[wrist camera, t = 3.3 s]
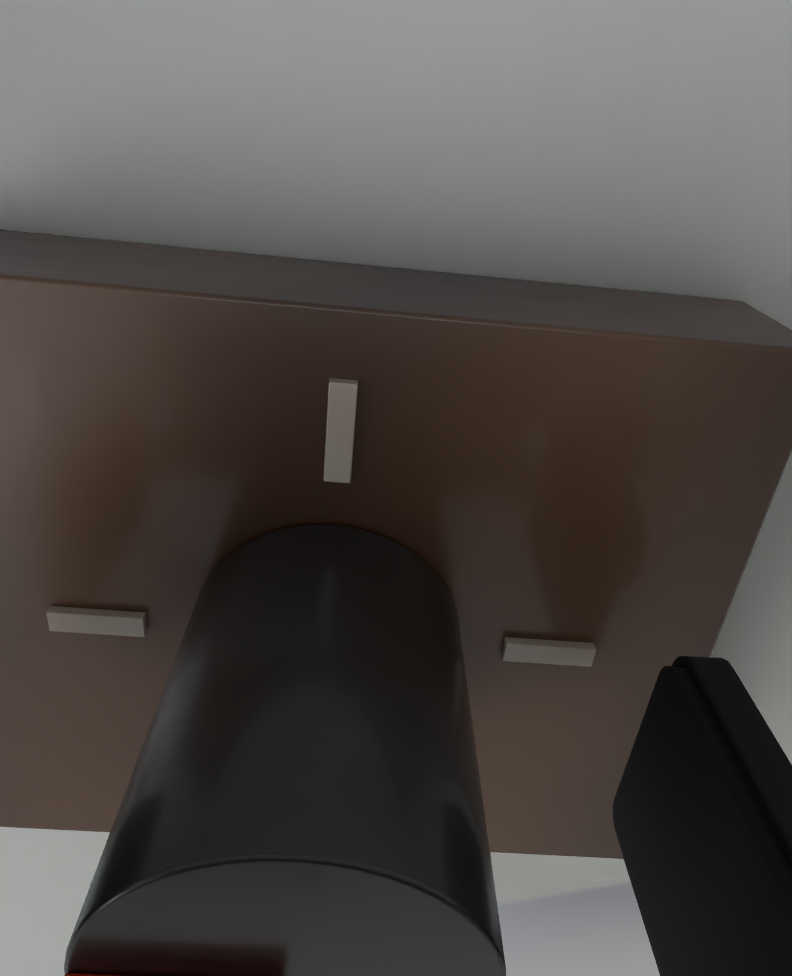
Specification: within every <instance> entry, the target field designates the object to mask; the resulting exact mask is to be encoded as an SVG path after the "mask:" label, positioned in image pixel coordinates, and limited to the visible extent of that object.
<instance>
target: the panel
mask: <svg viewBox="0 0 792 976" xmlns="http://www.w3.org/2000/svg"><path fill="white" fill-rule="evenodd" d="M791 450H792V330H790V329H788V328H787V327H785V326H783V325H782V324H780V323H778V322H777V321H775V320H773V319H772V318H770V317H768V316H767V315H765V314H763V313H761V312H760V311H758V310H756V309H755V308H753V307H751V306H750V305H748V304H746V303H745V302H742V301H731V300H721V299H711V298H700V297H690V296H679V295H669V294H659V293H648V292H638V291H628V290H617V289H607V288H596V287H586V286H576V285H565V284H555V283H544V282H534V281H524V280H513V279H503V278H492V277H482V276H472V275H461V274H451V273H441V272H430V271H420V270H409V269H399V268H389V267H378V266H368V265H357V264H347V263H337V262H326V261H316V260H305V259H295V258H285V257H274V256H264V255H254V254H243V253H233V252H222V251H212V250H202V249H191V248H181V247H170V246H160V245H150V244H139V243H129V242H119V241H108V240H98V239H87V238H77V237H67V236H56V235H46V234H35V233H25V232H15V231H4V230H0V827H17V828H37V829H56V830H76V831H95V832H111V829H112V826H113V824H114V821H115V818H116V816H117V813H118V810H119V808H120V805H121V802H122V800H123V797H124V794H125V791H126V789H127V786H128V783H129V781H130V778H131V775H132V773H133V770H134V767H135V765H136V762H137V759H138V757H139V754H140V751H141V749H142V746H143V743H144V740H145V738H146V735H147V732H148V730H149V727H150V724H151V722H152V719H153V716H154V714H155V711H156V708H157V706H158V703H159V700H160V697H161V695H162V692H163V689H164V687H165V684H166V681H167V679H168V676H169V673H170V671H171V668H172V665H173V663H174V660H175V657H176V655H177V652H178V649H179V646H180V644H181V641H182V638H183V636H184V633H185V630H186V628H187V625H188V622H189V620H190V617H191V614H192V612H193V609H194V606H195V604H196V601H197V598H198V596H199V593H200V591H201V588H202V587H203V585H204V583H205V582H206V580H207V578H208V577H209V575H210V574H211V573H212V572H213V570H214V569H215V568H216V567H217V566H218V565H219V563H221V562H222V561H223V560H224V559H225V558H226V557H227V556H229V555H230V554H231V553H232V552H234V551H235V550H237V549H238V548H240V547H241V546H243V545H244V544H246V543H248V542H250V541H252V540H254V539H256V538H258V537H260V536H263V535H266V534H269V533H272V532H275V531H278V530H281V529H286V528H291V527H296V526H305V525H339V526H346V527H353V528H357V529H361V530H365V531H369V532H373V533H375V534H378V535H381V536H383V537H386V538H389V539H390V540H392V541H394V542H396V543H398V544H400V545H402V546H404V547H405V548H407V549H408V550H410V551H411V552H413V553H414V554H416V555H417V556H418V557H420V558H421V559H422V560H423V561H424V562H425V563H426V564H427V565H429V566H430V567H431V568H432V569H433V571H434V572H435V573H436V574H437V575H438V577H439V578H440V579H441V580H442V582H443V583H444V585H445V587H446V588H447V590H448V591H449V593H450V595H451V598H452V600H453V602H454V605H455V608H456V612H457V616H458V620H459V628H460V635H461V642H462V650H463V657H464V665H465V672H466V679H467V687H468V694H469V701H470V709H471V716H472V724H473V731H474V738H475V746H476V753H477V760H478V768H479V775H480V783H481V790H482V797H483V805H484V812H485V819H486V827H487V834H488V842H489V849H490V852H503V853H522V854H542V855H561V856H580V857H600V858H619V859H624V858H623V854H622V851H621V848H620V845H619V842H618V838H617V835H616V832H615V828H614V824H613V802H614V798H615V795H616V792H617V790H618V787H619V784H620V781H621V778H622V776H623V773H624V770H625V767H626V764H627V762H628V759H629V756H630V753H631V750H632V748H633V745H634V742H635V739H636V736H637V734H638V731H639V728H640V725H641V722H642V720H643V717H644V714H645V711H646V708H647V706H648V703H649V700H650V697H651V694H652V692H653V689H654V686H655V683H656V681H657V678H658V675H659V673H660V671H661V669H662V668H663V667H664V666H672V664H673V662H674V660H675V659H676V658H677V657H679V656H694V657H710V655H711V652H712V650H713V647H714V645H715V642H716V640H717V637H718V635H719V632H720V630H721V627H722V625H723V622H724V620H725V617H726V614H727V612H728V609H729V607H730V604H731V602H732V599H733V597H734V594H735V592H736V589H737V587H738V584H739V582H740V579H741V577H742V574H743V571H744V569H745V566H746V564H747V561H748V559H749V556H750V554H751V551H752V549H753V546H754V544H755V541H756V539H757V536H758V533H759V531H760V528H761V526H762V523H763V521H764V518H765V516H766V513H767V511H768V508H769V506H770V503H771V501H772V498H773V496H774V493H775V490H776V488H777V485H778V483H779V480H780V478H781V475H782V473H783V470H784V468H785V465H786V463H787V460H788V458H789V455H790V453H791Z"/></svg>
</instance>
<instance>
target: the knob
mask: <svg viewBox="0 0 792 976" xmlns="http://www.w3.org/2000/svg"><path fill="white" fill-rule="evenodd" d="M501 938H502V937H501V931H500V923H499V915H498V908H497V901H496V893H495V886H494V878H493V871H492V864H491V856H490V849H489V842H488V834H487V827H486V819H485V812H484V805H483V797H482V790H481V783H480V775H479V768H478V760H477V753H476V746H475V738H474V731H473V724H472V716H471V709H470V701H469V694H468V687H467V679H466V672H465V665H464V657H463V650H462V642H461V635H460V628H459V620H458V616H457V612H456V608H455V605H454V602H453V600H452V598H451V595H450V593H449V591H448V590H447V588H446V587H445V585H444V583H443V582H442V580H441V579H440V578H439V577H438V575H437V574H436V573H435V572H434V571H433V569H432V568H431V567H430V566H429V565H427V564H426V563H425V562H424V561H423V560H422V559H421V558H420V557H418V556H417V555H416V554H414V553H413V552H411V551H410V550H408V549H407V548H405V547H404V546H402V545H400V544H398V543H396V542H394V541H392V540H390V539H389V538H386V537H383V536H381V535H378V534H375V533H373V532H369V531H365V530H361V529H357V528H353V527H346V526H339V525H305V526H296V527H291V528H286V529H281V530H278V531H275V532H272V533H269V534H266V535H263V536H260V537H258V538H256V539H254V540H252V541H250V542H248V543H246V544H244V545H243V546H241V547H240V548H238V549H237V550H235V551H234V552H232V553H231V554H230V555H229V556H227V557H226V558H225V559H224V560H223V561H222V562H221V563H219V565H218V566H217V567H216V568H215V569H214V570H213V572H212V573H211V574H210V575H209V577H208V578H207V580H206V582H205V583H204V585H203V587H202V588H201V591H200V593H199V596H198V598H197V601H196V604H195V606H194V609H193V612H192V614H191V617H190V620H189V622H188V625H187V628H186V630H185V633H184V636H183V638H182V641H181V644H180V646H179V649H178V652H177V655H176V657H175V660H174V663H173V665H172V668H171V671H170V673H169V676H168V679H167V681H166V684H165V687H164V689H163V692H162V695H161V697H160V700H159V703H158V706H157V708H156V711H155V714H154V716H153V719H152V722H151V724H150V727H149V730H148V732H147V735H146V738H145V740H144V743H143V746H142V749H141V751H140V754H139V757H138V759H137V762H136V765H135V767H134V770H133V773H132V775H131V778H130V781H129V783H128V786H127V789H126V791H125V794H124V797H123V800H122V802H121V805H120V808H119V810H118V813H117V816H116V818H115V821H114V824H113V826H112V829H111V832H110V834H109V837H108V840H107V843H106V845H105V848H104V851H103V853H102V856H101V859H100V861H99V864H98V867H97V869H96V872H95V875H94V877H93V880H92V883H91V885H90V888H89V891H88V894H87V896H86V899H85V902H84V904H83V907H82V910H81V912H80V915H79V918H78V920H77V923H76V926H75V928H74V931H73V934H72V936H71V939H70V942H69V945H68V947H67V951H66V958H65V964H64V971H65V976H506V967H505V960H504V953H503V945H502V939H501Z"/></svg>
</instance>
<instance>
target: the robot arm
mask: <svg viewBox="0 0 792 976" xmlns="http://www.w3.org/2000/svg"><path fill="white" fill-rule="evenodd" d="M613 824H614V828H615V832H616V835H617V838H618V842H619V845H620V848H621V851H622V854H623V858H624V861H625V864H626V867H627V870H628V874H629V877H630V880H631V883H632V887H633V890H634V893H635V896H636V899H637V903H638V906H639V909H640V912H641V915H642V919H643V922H644V925H645V928H646V931H647V935H648V938H649V941H650V944H651V947H652V951H653V954H654V957H655V960H656V964H657V966H658V970H659V973H660V976H792V765H791V763H790V762H789V760H788V758H787V757H786V755H785V753H784V752H783V750H782V748H781V747H780V745H779V743H778V742H777V740H776V738H775V737H774V735H773V733H772V732H771V730H770V728H769V727H768V725H767V723H766V722H765V720H764V718H763V717H762V715H761V713H760V712H759V710H758V708H757V707H756V705H755V704H754V702H753V700H752V699H751V697H750V695H749V694H748V692H747V690H746V689H745V687H744V685H743V684H742V682H741V680H740V679H739V677H738V675H737V674H736V672H735V670H734V669H733V667H732V666H731V665H730V663H729V662H728V661H727V660H725V659H723V658H709V657H694V656H679V657H677V658H676V659H675V660H674V662H673V664H672V666H664V667H663V668H662V669H661V671H660V673H659V675H658V678H657V681H656V683H655V686H654V689H653V692H652V694H651V697H650V700H649V703H648V706H647V708H646V711H645V714H644V717H643V720H642V722H641V725H640V728H639V731H638V734H637V736H636V739H635V742H634V745H633V748H632V750H631V753H630V756H629V759H628V762H627V764H626V767H625V770H624V773H623V776H622V778H621V781H620V784H619V787H618V790H617V792H616V795H615V798H614V802H613Z"/></svg>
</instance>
